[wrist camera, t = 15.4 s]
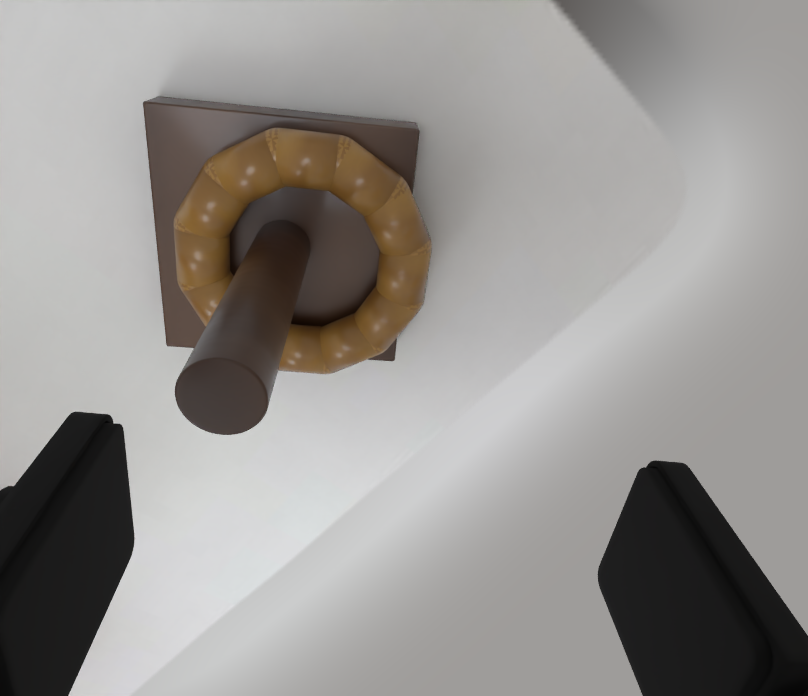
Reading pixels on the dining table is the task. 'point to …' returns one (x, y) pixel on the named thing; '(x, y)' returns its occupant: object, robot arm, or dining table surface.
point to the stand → (261, 253)
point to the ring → (319, 170)
